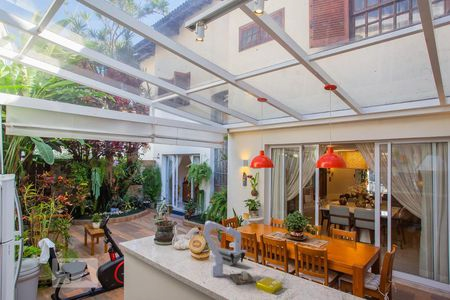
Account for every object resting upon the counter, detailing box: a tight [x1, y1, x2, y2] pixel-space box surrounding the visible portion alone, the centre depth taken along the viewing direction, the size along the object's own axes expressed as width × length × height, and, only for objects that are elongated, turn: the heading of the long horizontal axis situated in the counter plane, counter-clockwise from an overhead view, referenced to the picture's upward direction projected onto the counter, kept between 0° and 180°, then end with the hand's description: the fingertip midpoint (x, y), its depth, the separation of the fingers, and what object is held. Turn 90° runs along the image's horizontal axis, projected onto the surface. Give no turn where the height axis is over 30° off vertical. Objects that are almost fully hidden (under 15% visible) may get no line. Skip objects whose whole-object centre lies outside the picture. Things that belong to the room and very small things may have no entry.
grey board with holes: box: [229, 271, 257, 286], centre depth 212 cm, size 16×17×2 cm
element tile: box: [255, 276, 283, 295], centre depth 198 cm, size 15×15×5 cm
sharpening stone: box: [217, 247, 241, 267], centre depth 247 cm, size 25×8×11 cm, turn 48°
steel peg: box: [240, 270, 249, 281], centre depth 208 cm, size 4×4×7 cm
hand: (237, 262), depth 222 cm, fingers open, 7 cm apart
